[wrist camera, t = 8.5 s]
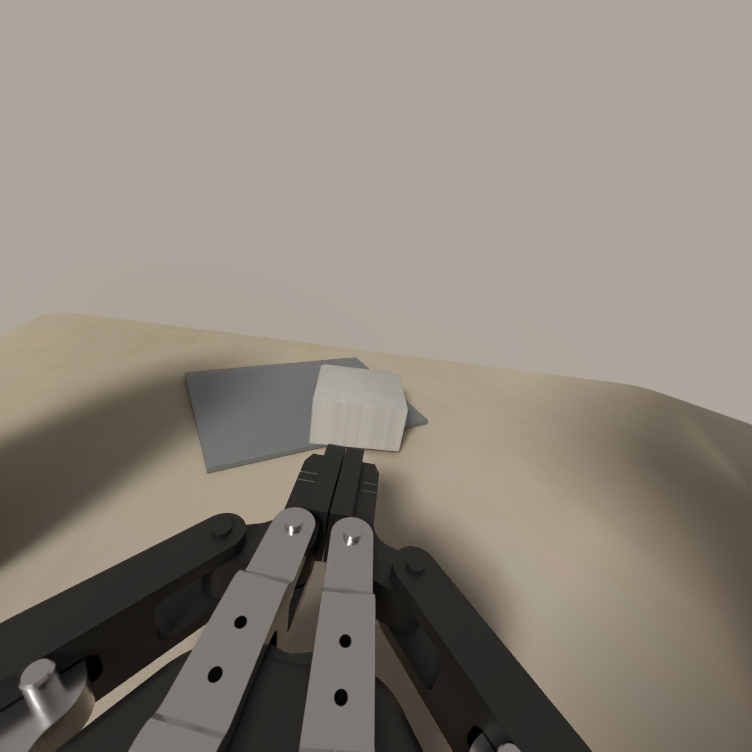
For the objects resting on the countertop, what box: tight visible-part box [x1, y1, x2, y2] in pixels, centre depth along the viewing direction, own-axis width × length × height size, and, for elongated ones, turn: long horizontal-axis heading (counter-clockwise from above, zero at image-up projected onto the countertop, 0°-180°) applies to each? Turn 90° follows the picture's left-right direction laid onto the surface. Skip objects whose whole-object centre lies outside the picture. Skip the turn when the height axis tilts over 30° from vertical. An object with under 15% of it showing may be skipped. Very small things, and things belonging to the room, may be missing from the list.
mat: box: [185, 357, 428, 473], centre depth 32 cm, size 18×14×1 cm
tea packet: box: [309, 364, 408, 452], centre depth 30 cm, size 4×7×10 cm
